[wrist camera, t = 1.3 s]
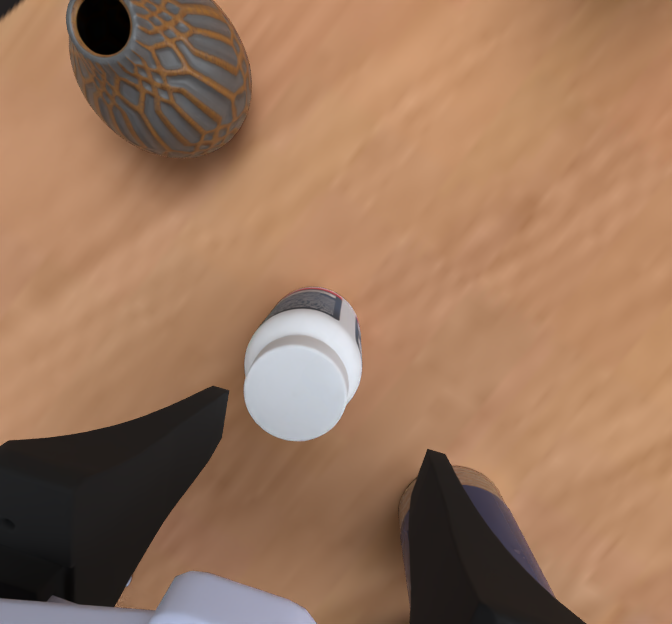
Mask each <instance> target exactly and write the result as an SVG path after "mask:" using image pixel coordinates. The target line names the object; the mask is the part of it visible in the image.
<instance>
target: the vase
mask: <svg viewBox="0 0 672 624" xmlns="http://www.w3.org/2000/svg"><path fill="white" fill-rule="evenodd" d="M66 24H67V30H68V33H69V52H70V59H71V64H72V68H73V72H74V75H75V78H76V80H77V83H78V85H79V87H80V89H81V91H82V93H83V95H84V96H85V98H86V100H87V101H88V103H89V104H90V106H91V107H92V108H93V110H94V111H95V112H96V114H97V115H98V116H99V117H100V118H101V119H102V120H103V122H104V123H105V124H106V125H107V126H108V127H110V128H111V129H112V130H113V131H114V132H115V133H116V134H118V135H119V136H120V137H122V138H123V139H125V140H126V141H128V142H129V143H131V144H132V145H134V146H136V147H138V148H140V149H143V150H145V151H148V152H150V153H153V154H157V155H161V156H165V157H171V158H194V157H199V156H203V155H206V154H209V153H211V152H213V151H216V150H217V149H219V148H221V147H222V146H224V145H225V144H226V143H227V142H228V141H230V140H231V139H232V138H233V136H234V135H235V134H236V133H237V131H238V130H239V129H240V127H241V125H242V124H243V122H244V120H245V117H246V115H247V112H248V109H249V105H250V100H251V92H252V80H251V70H250V64H249V60H248V57H247V54H246V51H245V48H244V46H243V43H242V41H241V39H240V37H239V35H238V33H237V31H236V29H235V28H234V26H233V24H232V23H231V21H230V20H229V18H228V17H227V16H226V15H225V13H224V12H223V11H222V9H221V8H220V7H219V6H218V5H217V4H216V3H215V2H214V1H213V0H70V2H69V4H68V8H67V13H66Z"/></svg>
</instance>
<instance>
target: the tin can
mask: <svg viewBox="0 0 672 624" xmlns="http://www.w3.org/2000/svg"><path fill="white" fill-rule="evenodd" d="M452 468H453V469H454V471H455V473H456V475H457V477H458V479H459V480H460V482H461V484H462V486H463V488H464V489H465V491H466V493H467V494H468V496H469V498H470V499H471V501H472V503H473V504H474V506H475V507H476V509H477V510H478V512H479V513H480V515H481V516H482V518H483V519H484V521H485V522H486V523H487V525H488V526H489V527H490V529H491V530H492V532H493V533H494V534H495V535H496V537H497V538H498V539H499V540H500V542H501V543H502V544H503V545H504V547H505V548H506V549H507V550H508V551H509V552H510V553H511V555H512V556H513V557H514V558H515V559H516V560H517V561H518V562H519V563H520V564H521V565H522V567H523V568H524V569H525V570H526V571H527V572H528V573H529V574H530V575H531V576H532V577H533V578H534V579H535V580H536V581H537V582H538V583H539V584H540V585H541V586H542V587H544V588H545V589H546V590H547V591H548V592H549V593H550V594H551V595H552V596H553V597H554V598H555V596H554V594H553V592H552V590H551V588H550V586H549V584H548V582H547V580H546V578H545V577H544V575H543V573H542V571H541V569H540V567H539V565H538V563H537V561H536V559H535V557H534V555H533V553H532V552H531V550H530V548H529V546H528V544H527V542H526V540H525V538H524V536H523V534H522V532H521V530H520V529H519V527H518V525H517V523H516V521H515V519H514V517H513V515H512V513H511V511H510V510H509V508H508V507H507V505H506V504H505V502H504V500H503V498H502V496H501V494H500V492H499V490H498V489H497V487H496V486H495V485H494V484H493V483H492V482H491V481H490V480H489V479H488V478H487V477H485V476H484V475H482V474H481V473H479V472H477V471H474V470H472V469H468V468H464V467H457V466H452ZM416 480H417V478H416V479H415V480H414V481H413V482H412V483H411V484H410V485H409V486H408V487H407V489H406V490H405V492H404V494H403V495H402V498H401V500H400V504H399V510H398V516H399V524H400V531H401V534H400V536H401V546H402V553H403V560H404V567H405V575H406V582H407V589H408V596H409V603H410V607H411V581H410V556H409V528H408V522H409V509H410V499H411V494H412V491H413V488H414V485H415V482H416Z"/></svg>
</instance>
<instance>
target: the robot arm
mask: <svg viewBox="0 0 672 624" xmlns="http://www.w3.org/2000/svg"><path fill="white" fill-rule="evenodd" d="M228 395H229V390H226V389H223V388H219V387H216V386H212V387H209V388H207V389H205V390H203V391H201V392H198V393H196V394H194V395H192V396H190V397H188V398H186V399H184V400H181V401H179V402H177V403H175V404H173V405H170V406H168V407H166V408H163V409H161V410H158V411H156V412H153V413H151V414H148V415H146V416H143V417H140V418H137V419H134V420H131V421H128V422H124V423H121V424H118V425H114V426H110V427H106V428H101V429H97V430H92V431H88V432H83V433H77V434H71V435H65V436H58V437H50V438H39V439H26V440H10V441H7V442H6V443H4V444H3V445H1V446H0V624H317V623H316V622H315V621H314V619H313V618H312V617H311V615H310V614H309V613H308V611H307V610H306V609H305V608H304V607H302V606H300V605H298V604H296V603H295V602H293V601H291V600H289V599H286V598H283V597H280V596H277V595H274V594H271V593H268V592H265V591H262V590H259V589H256V588H253V587H250V586H247V585H244V584H241V583H238V582H236V581H233V580H230V579H227V578H224V577H221V576H218V575H215V574H212V573H207V572H199V571H189V572H186V573H184V574H181V575H178V576H176V577H175V578H174V580H173V582H172V583H171V585H170V587H169V588H168V590H167V592H166V594H165V595H164V597H163V599H162V600H161V602H160V604H159V606H158V607H157V609H156V610H144V609H131V608H118V607H115V605H116V603H117V601H118V599H119V598H120V596H121V594H122V592H123V590H124V589H125V587H127V586H128V585H129V583H130V582H131V579H132V574H133V572H134V571H135V569H136V567H137V566H138V564H139V562H140V560H141V559H142V557H143V555H144V554H145V552H146V550H147V548H148V547H149V545H150V543H151V542H152V540H153V539H154V537H155V535H156V534H157V532H158V530H159V529H160V527H161V525H162V524H163V522H164V521H165V519H166V518H167V516H168V515H169V513H170V512H171V510H172V509H173V508H174V507H175V505H176V504H177V503H178V501H179V500H180V499H181V497H182V496H183V495H184V493H185V492H186V491H187V489H188V488H189V487H190V485H191V484H192V483H193V481H194V480H195V479H196V477H197V476H198V475H199V473H200V472H201V471H202V469H203V468H204V467H205V465H206V464H207V463H208V461H209V460H210V458H211V456H212V454H213V453H214V451H215V449H216V447H217V445H218V444H219V442H220V440H221V438H222V433H223V427H224V420H225V414H226V408H227V401H228ZM408 528H409V556H410V581H411V607H410V624H586V623H585V622H583V621H582V620H581V619H580V618H579V617H577V616H576V615H575V614H574V613H572V612H571V611H570V610H569V609H568V608H566V607H565V606H564V605H563V604H561V603H560V602H559V601H558V600H557V599H556V598H554V597H553V596H552V595H551V594H550V593H549V592H548V591H547V590H546V589H545V588H544V587H542V586H541V585H540V584H539V583H538V582H537V581H536V580H535V579H534V578H533V577H532V576H531V575H530V574H529V573H528V572H527V571H526V570H525V569H524V568H523V567H522V565H521V564H520V563H519V562H518V561H517V560H516V559H515V558H514V557H513V556H512V555H511V553H510V552H509V551H508V550H507V549H506V548H505V547H504V545H503V544H502V543H501V542H500V540H499V539H498V538H497V537H496V535H495V534H494V533H493V532H492V530H491V529H490V527H489V526H488V525H487V523H486V522H485V521H484V519H483V518H482V516H481V515H480V513H479V512H478V510H477V509H476V507H475V506H474V504H473V503H472V501H471V499H470V498H469V496H468V494H467V493H466V491H465V489H464V488H463V486H462V484H461V482H460V480H459V479H458V477H457V475H456V473H455V471H454V469H453V468H452V466H451V464H450V462H449V460H448V458H447V457H446V455H445V454H443V453H440V452H436V451H433V450H429V449H427V452H426V455H425V457H424V460H423V463H422V466H421V468H420V471H419V474H418V477H417V480H416V482H415V485H414V488H413V491H412V494H411V499H410V509H409V522H408Z"/></svg>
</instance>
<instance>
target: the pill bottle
mask: <svg viewBox="0 0 672 624" xmlns="http://www.w3.org/2000/svg"><path fill="white" fill-rule="evenodd" d="M244 369H245V376H246V379H245V383H244V399H245V403H246V406H247V409H248V411H249V413H250V415H251V416H252V418H253V419H254V421H255V422H256V423H257V424H258V425H259V426H260V427H261V428H262V429H263V430H265V431H266V432H268V433H269V434H271V435H273V436H275V437H278V438H280V439H284V440H289V441H306V440H311V439H314V438H317V437H319V436H321V435H323V434H325V433H326V432H328V431H329V430H330V429H332V428H333V427H334V426H335V425H336V423H337V422H338V421H339V419H340V418H341V416H342V414H343V412H344V410H345V407H346V405H347V404H348V403H349V401H350V400H351V399H352V397H353V396H354V394H355V392H356V391H357V388H358V386H359V383H360V379H361V374H362V350H361V333H360V326H359V322H358V318H357V316H356V314H355V312H354V310H353V308H352V307H351V305H350V304H349V303H348V302H347V301H346V300H345V299H344V298H343V297H341V296H340V295H339V294H337V293H335V292H333V291H331V290H329V289H325V288H321V287H306V288H301V289H298V290H295V291H293V292H291V293H289V294H288V295H286V296H285V297H284V298H283V299H281V300H280V301H279V302H278V304H277V305H276V306H275V307H274V309H273V310H272V311H271V313H270V314H269V315H268V316H267V318H266V319H265V320H264V321H263V323H262V324H261V325H260V326H259V328H258V329H257V330H256V332H255V333H254V335H253V336H252V338H251V340H250V342H249V344H248V347H247V350H246V353H245V360H244Z"/></svg>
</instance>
